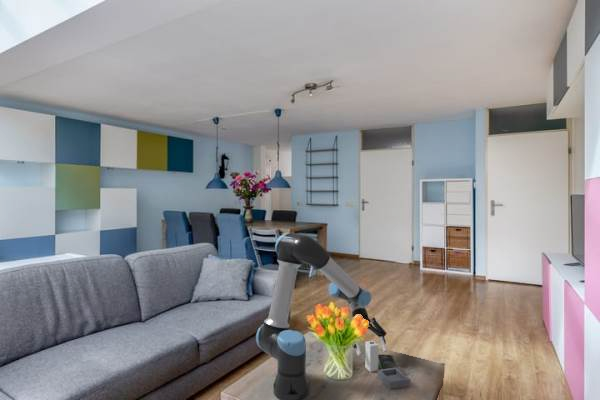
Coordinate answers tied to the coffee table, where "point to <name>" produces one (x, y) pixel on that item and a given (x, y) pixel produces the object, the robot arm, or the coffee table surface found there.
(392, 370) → the charging cradle
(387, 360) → the smartphone
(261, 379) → the coffee table surface
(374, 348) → the charger
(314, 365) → the coffee table surface
